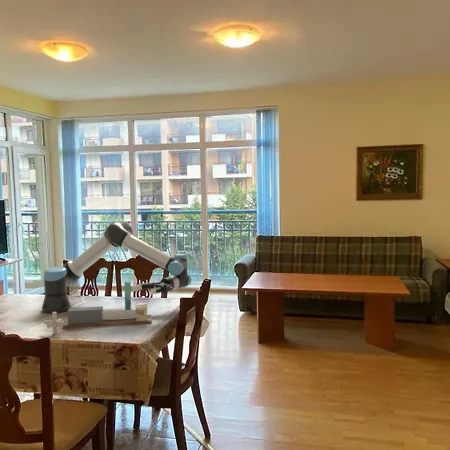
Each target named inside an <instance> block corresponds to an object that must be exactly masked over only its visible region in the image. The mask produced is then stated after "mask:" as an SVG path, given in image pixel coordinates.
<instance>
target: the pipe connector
mask: <svg viewBox="0 0 450 450" xmlns="http://www.w3.org/2000/svg"><path fill="white" fill-rule="evenodd" d="M51 314H52V320H44V321H43V325H46V328H47V329H50V328H52V335H58V326H63V325H65V324H66V320H65V321H64V320H63V318H62V317H61V318H58V319H57V312H52V313H51Z"/></svg>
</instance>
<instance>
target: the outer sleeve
mask: <svg viewBox="0 0 450 450" xmlns="http://www.w3.org/2000/svg"><path fill="white" fill-rule="evenodd" d="M102 309H104V306H84V307H83V306H80V307H71V308H70V309H69V310H68V311H67V319H68V324H80V323H99V322H102V321H103V319H102Z"/></svg>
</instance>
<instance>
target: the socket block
mask: <svg viewBox="0 0 450 450" xmlns="http://www.w3.org/2000/svg"><path fill="white" fill-rule="evenodd" d="M135 308H136V321H147V315H148V303H147V302H141V303H136V304H135Z"/></svg>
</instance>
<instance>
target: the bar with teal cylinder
mask: <svg viewBox="0 0 450 450" xmlns="http://www.w3.org/2000/svg"><path fill="white" fill-rule="evenodd" d="M131 285H132V284H131V281H124V308H123V307H122V308H121V307H120V308H103V309H102V319H117V318H136V307H132V286H131Z"/></svg>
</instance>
